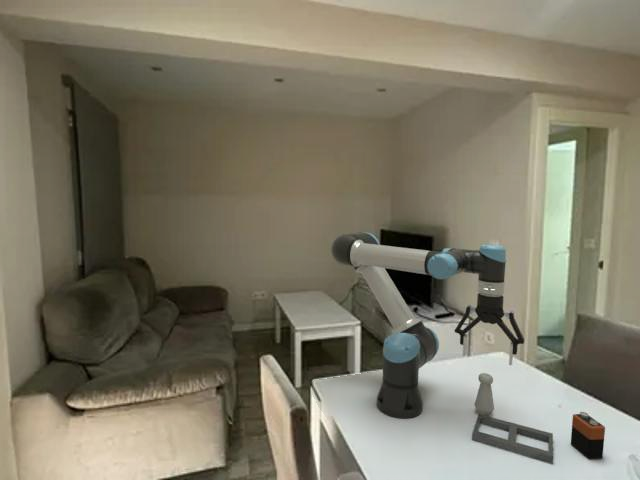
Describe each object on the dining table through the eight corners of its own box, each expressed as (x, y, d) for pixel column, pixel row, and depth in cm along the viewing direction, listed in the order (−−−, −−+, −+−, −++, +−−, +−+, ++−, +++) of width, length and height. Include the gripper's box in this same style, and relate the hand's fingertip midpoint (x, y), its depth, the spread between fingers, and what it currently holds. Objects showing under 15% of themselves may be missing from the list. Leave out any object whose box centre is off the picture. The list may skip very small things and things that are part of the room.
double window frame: (471, 439, 111) (472, 433, 111) (478, 419, 121) (478, 413, 121) (552, 464, 101) (553, 457, 101) (552, 440, 111) (552, 433, 111)
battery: (583, 443, 110) (586, 409, 109) (603, 459, 103) (606, 423, 102) (569, 444, 109) (572, 410, 108) (588, 459, 103) (591, 424, 102)
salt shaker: (495, 419, 122) (497, 379, 120) (476, 417, 123) (478, 378, 121) (491, 409, 127) (493, 371, 126) (472, 407, 128) (474, 370, 127)
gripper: (447, 291, 124) (444, 354, 126) (535, 302, 112) (531, 372, 114) (452, 287, 131) (449, 347, 133) (536, 296, 118) (531, 363, 120)
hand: (487, 359), depth 123 cm, fingers open, 13 cm apart
